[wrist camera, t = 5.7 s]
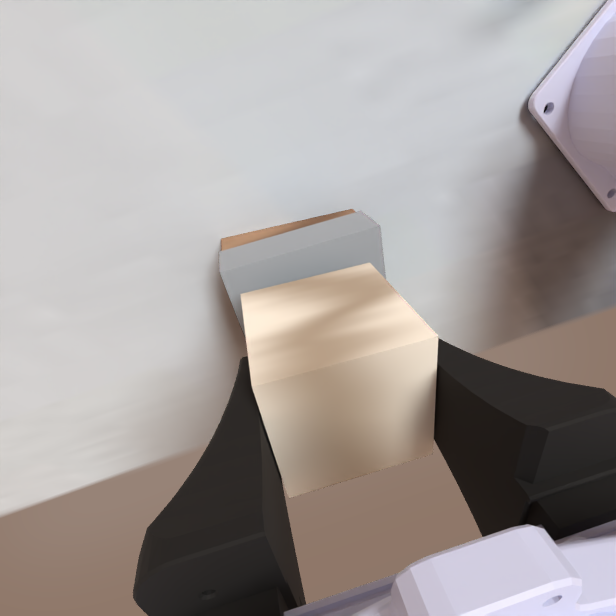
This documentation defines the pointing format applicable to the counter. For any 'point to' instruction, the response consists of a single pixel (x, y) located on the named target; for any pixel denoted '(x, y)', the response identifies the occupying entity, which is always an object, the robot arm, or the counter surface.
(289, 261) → the tower top block
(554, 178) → the counter surface
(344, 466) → the ash cube
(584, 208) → the counter surface
